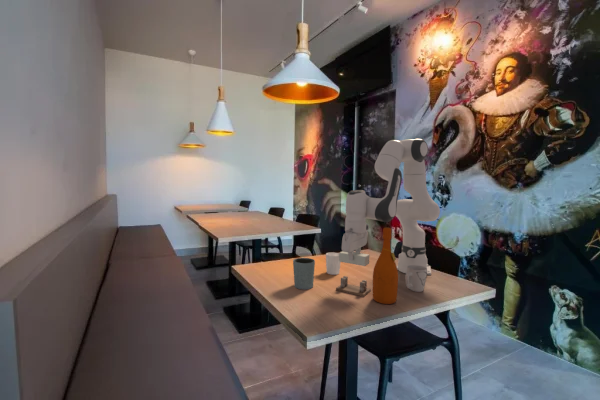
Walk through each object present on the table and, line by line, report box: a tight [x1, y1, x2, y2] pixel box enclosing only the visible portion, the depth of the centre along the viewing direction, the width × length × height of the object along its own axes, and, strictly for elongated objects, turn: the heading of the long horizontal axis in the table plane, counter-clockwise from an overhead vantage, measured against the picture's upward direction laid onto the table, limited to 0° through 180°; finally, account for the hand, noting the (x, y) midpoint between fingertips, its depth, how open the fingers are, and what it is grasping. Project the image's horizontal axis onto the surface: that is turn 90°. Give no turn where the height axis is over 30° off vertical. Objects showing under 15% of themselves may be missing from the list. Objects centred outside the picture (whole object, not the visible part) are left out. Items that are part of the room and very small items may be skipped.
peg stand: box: [335, 275, 372, 298], centre depth 133 cm, size 8×13×5 cm, turn 57°
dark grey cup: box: [292, 257, 316, 290], centre depth 138 cm, size 10×10×12 cm
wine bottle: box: [372, 226, 399, 305], centre depth 122 cm, size 10×10×30 cm
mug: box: [404, 265, 427, 293], centre depth 136 cm, size 11×8×10 cm
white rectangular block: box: [338, 250, 370, 267], centre depth 133 cm, size 12×5×4 cm, turn 57°
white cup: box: [325, 251, 342, 276], centre depth 159 cm, size 8×8×10 cm
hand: (354, 258), depth 133 cm, fingers closed on white rectangular block, 5 cm apart
